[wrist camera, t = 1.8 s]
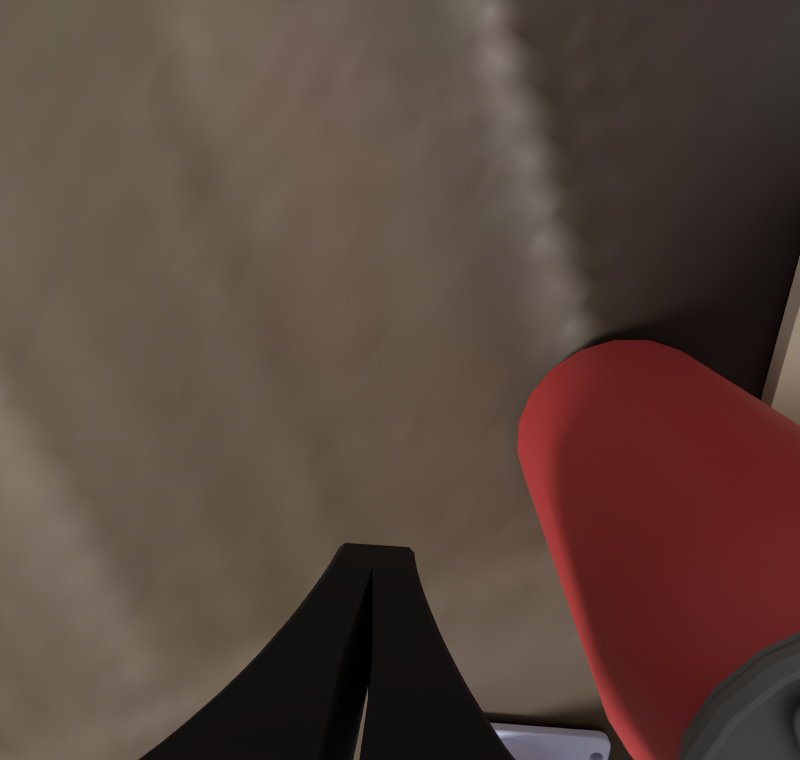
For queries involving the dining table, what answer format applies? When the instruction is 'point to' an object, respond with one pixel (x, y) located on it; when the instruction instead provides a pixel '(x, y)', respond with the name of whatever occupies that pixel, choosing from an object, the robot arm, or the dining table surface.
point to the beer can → (673, 547)
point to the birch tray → (786, 360)
